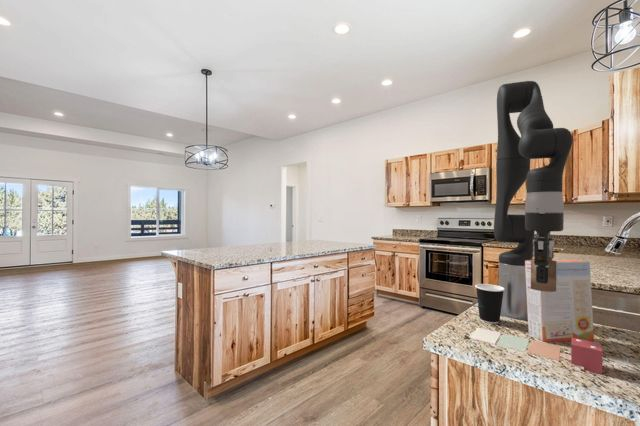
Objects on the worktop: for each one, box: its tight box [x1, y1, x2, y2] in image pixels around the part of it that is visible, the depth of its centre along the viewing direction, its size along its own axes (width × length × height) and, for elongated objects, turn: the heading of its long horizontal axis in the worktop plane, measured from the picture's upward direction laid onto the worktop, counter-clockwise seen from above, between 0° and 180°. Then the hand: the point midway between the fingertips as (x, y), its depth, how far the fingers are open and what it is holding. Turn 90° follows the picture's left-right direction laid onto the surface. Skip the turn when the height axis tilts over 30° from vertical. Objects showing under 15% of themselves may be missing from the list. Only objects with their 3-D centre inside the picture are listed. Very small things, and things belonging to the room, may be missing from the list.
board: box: [468, 327, 562, 361], centre depth 77 cm, size 11×20×1 cm, turn 50°
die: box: [570, 337, 603, 375], centre depth 67 cm, size 5×5×5 cm
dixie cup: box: [475, 283, 505, 325], centre depth 92 cm, size 8×8×11 cm
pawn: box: [531, 250, 556, 292], centre depth 73 cm, size 5×5×10 cm
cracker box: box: [525, 259, 595, 343], centre depth 81 cm, size 14×6×21 cm, turn 92°
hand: (543, 280), depth 73 cm, fingers closed on pawn, 5 cm apart
